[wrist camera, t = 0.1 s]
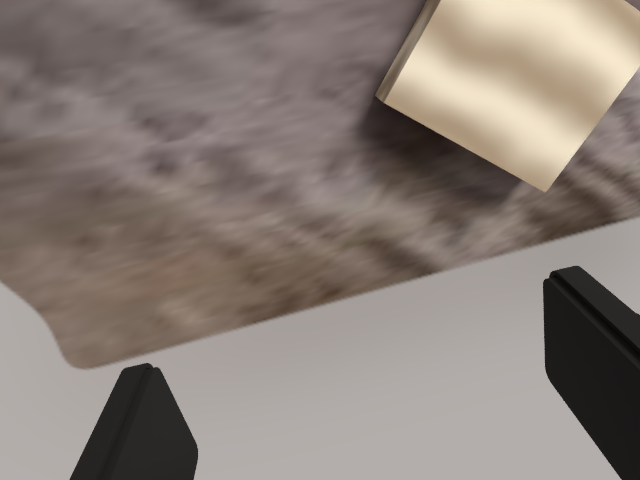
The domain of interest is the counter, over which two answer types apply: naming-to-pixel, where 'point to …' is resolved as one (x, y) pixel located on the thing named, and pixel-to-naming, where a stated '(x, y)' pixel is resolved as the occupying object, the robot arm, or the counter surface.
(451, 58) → the birch block
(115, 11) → the counter surface
